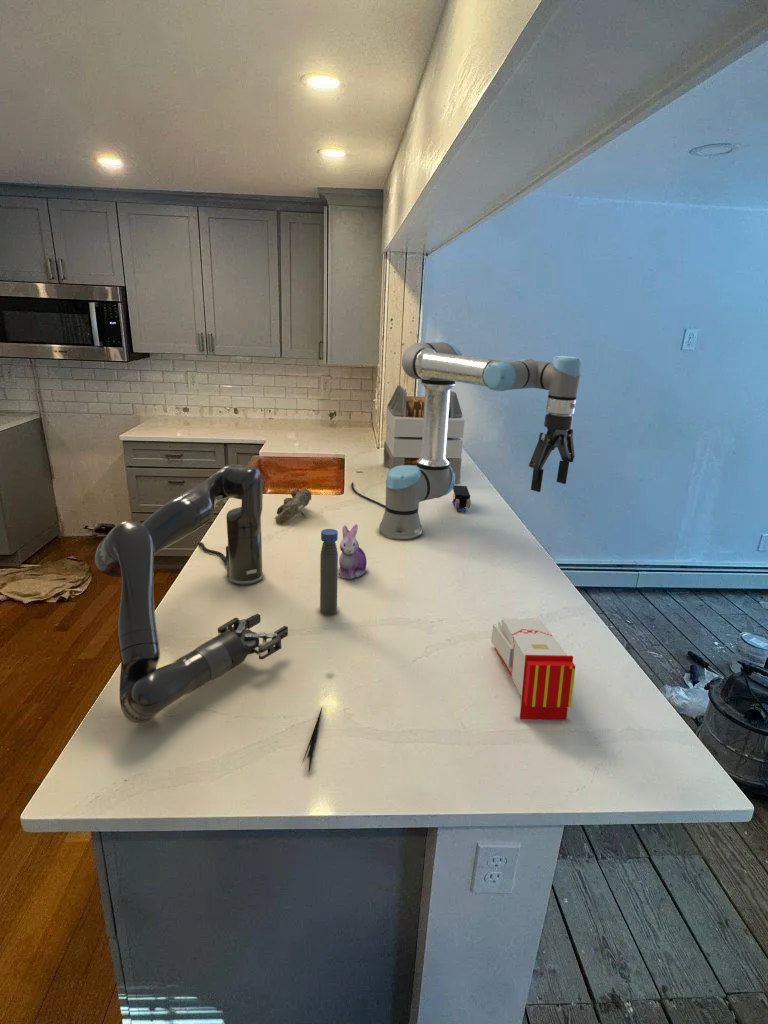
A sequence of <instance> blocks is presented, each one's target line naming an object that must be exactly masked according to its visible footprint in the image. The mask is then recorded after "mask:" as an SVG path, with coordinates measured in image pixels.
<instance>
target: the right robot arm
mask: <svg viewBox="0 0 768 1024" xmlns="http://www.w3.org/2000/svg"><path fill="white" fill-rule="evenodd" d="M401 367H402V370H403V371H404V373H405V374H406V375H407V376H408V377H409V378H412V379H414V380H420V384H421V385H422V386H423V388H424V397H425V401H424V419H423V437H422V454H421V457H420V458H419V459H418V460H417V466H413V465H401V466H397V467H394V468H392V469H390V468H389V470H388V472H387V475H386V479H385V504H383V503H381V502H379V501H376V500H374V499H372V498H370V497H368V496H365V495H363V494H361V493H360V492H358V491H357V490H356V489H355V488H354V482H353V481H352V482H351V489H352V492H353V493H355V494H356V495H358V496H359V497H361V498H364V499H365V500H367V501H370V502H372V503H374V504H376V505H379V506H380V507H383V508H385V509H384V513H383V515H382V519H381V522H379V526H378V533H379V534H380V535H381V536H382V537H385V538H387V539H389V540H395V541H410V540H415V539H418V538H420V537H421V536H422V535H423V525H422V524H421V518H420V515H419V507H420V506H419V505H420V502H423V501H428V500H433V499H440V498H442V497H445V496H447V495H449V493H451V492H452V490H453V486H454V485H455V475H454V473H453V470H452V468H451V467H450V466H449V461H448V460H447V459H446V443H447V429H448V415H449V401H450V390H451V391H452V389H453V387H455V386H456V383H463V384H468V385H475V386H479V387H487V388H488V389H489V390H491V391H493V392H494V391H497V392H504V391H511V390H523V389H537V390H538V389H539V390H545V391H548V395H547V400H546V401H547V402H546V407H545V412H547V413H545V415H544V423H543V427H545V428H546V429H547V430H546V432H540V433H539V437H538V441H537V444H536V446H535V449H534V450H533V453H532V456H531V459H530V461H529V463H528V466H529V468H532V469H533V470H532V476H531V477H532V478H531V483H530V484H531V485H530V491H533V492H537V493H540V492H541V489H542V483H543V477H544V469H543V468H544V465H545V464H546V462H547V460H548V458H549V457H550V455H551V453H552V451H554V450H555V449H556V448H557V450H558V452H559V456H560V458H561V460H559V463H558V468H557V469H558V470H557V475H556V483H559V484H563V485H566V484H567V479H568V472H569V467H570V463H574V459H575V457H576V456H575V446H574V445H575V444H574V429H573V422H574V416H573V415H574V414H575V408H577V404H576V402H577V395H578V389H579V384H580V378H581V372H582V370H581V369H582V359H581V358H579V357H578V356H569V355H568V356H566V355H556V356H554V357H553V360H552V362H548V361H542V360H536V359H535V360H534V359H519V360H517V361H508V360H507V361H506V360H497V359H488V358H482V357H474V356H466V355H463V352H462V351H461V350H460V348H459V347H458V346H457V345H456V344H454V343H451V342H445V341H441V342H440V341H439V342H438V341H437V342H415V343H413V344H411V345H409V346H408V347H407V348H406V349H405V350H404V352H403V354H402V357H401Z"/></svg>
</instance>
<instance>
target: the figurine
mask: <svg viewBox="0 0 768 1024" xmlns="http://www.w3.org/2000/svg"><path fill="white" fill-rule="evenodd" d="M358 529H359V525H358V524H357V523H355V524H354V525H353V526H352V528H351V529H350V530H349V528H348V526H347V525H346V524H343V526H342V539H341V541H340V544H339V550H340V551H341V553H340V555H339V557H338V566H339V567H338V573H339V577H340V578H342V579H349V580H351V579H354V578H359V577H361V576H362V575H364V574H365V573H366V569H367V563H368V561H367V556H366V553H365V551H364V550H363V549H362V548H361V547H360V544H359V541H358V539H357V533H358Z"/></svg>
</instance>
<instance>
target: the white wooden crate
mask: <svg viewBox="0 0 768 1024" xmlns="http://www.w3.org/2000/svg"><path fill="white" fill-rule="evenodd" d="M407 394H408V393H407V390H406V389H404V388H403V387H402V385H399V384H398V385H397V386H396V388H395V390H394V392H393V394H392V395H391V398H390V400H389V402H388V404H387V405H386V413H385V414H386V415H385V423H386V428H385V438H384V442H383V466H384V467H388V468H389V470H390V469H392V468H394V467H397V466H401V465H404V466H406V465H413V466H417V460H418V459H419V458H420V457H421V454H422V437H423V419H424V401H425V396H415V395H414V396H413V395H412V396H411V395H407ZM464 429H465V419H464V418H463V411H462V408H461V405H460V402H459V398H458V395H457V392H455V391H453V390H452V389H451V390H450V401H449V415H448V429H447V443H446V459H447V460H448V461H449V466H450V467H451V468H452V470H453V473H454V475H455V483H456V484H459V483H461V472H462V461H463V460H462V453H463V442H464V441H463V440H462V439H463V438H464V431H465V430H464ZM455 483H454V484H455Z"/></svg>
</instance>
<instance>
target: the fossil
mask: <svg viewBox="0 0 768 1024" xmlns="http://www.w3.org/2000/svg"><path fill="white" fill-rule="evenodd" d="M290 495H291V497H285V498H284V499H283V504H281V505H280V506H279V507H278V508H277V510H276V514H277V515H276V516H275V517H274V520H275V523H276V524H279V525H282V524H286V523H289V522H290V521H292V519H293V518H295V517H297V515H299V514H301V515H302V516H303V517H305V516H306V515H305V514H304V512H303V510H304V509H305V507H307V506H308V505H309V503H310V501H311V500H312V492H311V491H310V490H309V489H307V488H301V490H300V489H299V488H293V489H292V491H291V492H290Z"/></svg>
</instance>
